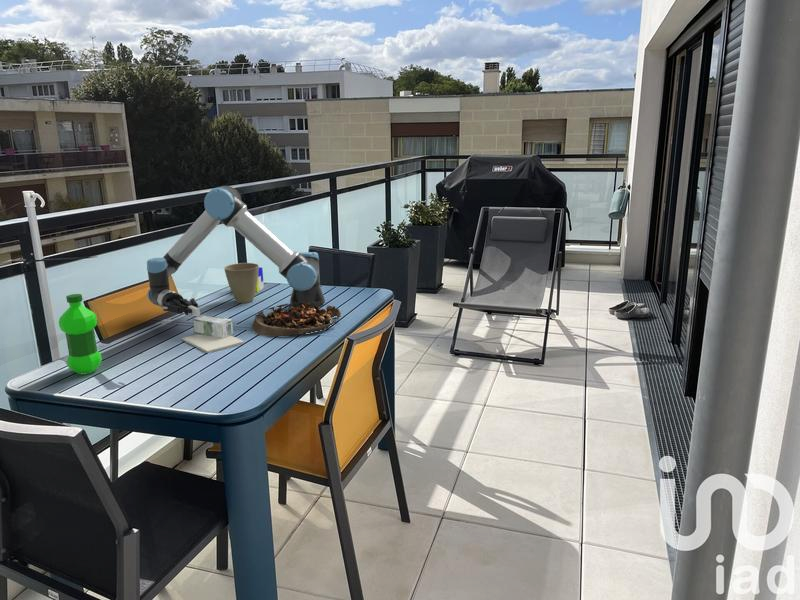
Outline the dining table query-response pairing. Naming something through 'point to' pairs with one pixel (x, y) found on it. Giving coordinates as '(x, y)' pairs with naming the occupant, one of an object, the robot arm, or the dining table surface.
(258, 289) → the puzzle toy
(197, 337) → the mat
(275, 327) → the food dish
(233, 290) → the plant pot
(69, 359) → the plastic bottle
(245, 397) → the dining table surface
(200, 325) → the syrup box
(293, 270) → the robot arm
